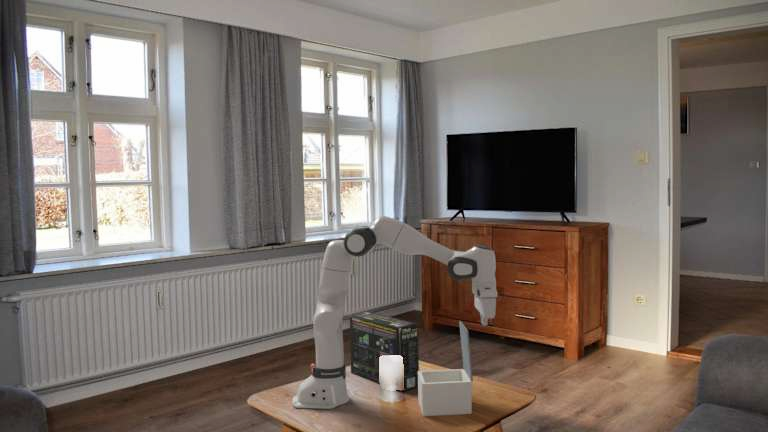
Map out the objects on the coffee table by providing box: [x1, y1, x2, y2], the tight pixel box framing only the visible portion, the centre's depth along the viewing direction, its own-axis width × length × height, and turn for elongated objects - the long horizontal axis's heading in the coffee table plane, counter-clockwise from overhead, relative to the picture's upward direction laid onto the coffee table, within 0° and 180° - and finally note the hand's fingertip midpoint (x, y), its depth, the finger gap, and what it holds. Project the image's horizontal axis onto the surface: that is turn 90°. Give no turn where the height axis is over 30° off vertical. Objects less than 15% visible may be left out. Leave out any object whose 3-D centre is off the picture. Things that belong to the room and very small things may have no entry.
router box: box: [348, 311, 420, 391], centre depth 268 cm, size 36×11×27 cm, turn 39°
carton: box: [417, 368, 473, 417], centre depth 235 cm, size 18×15×12 cm
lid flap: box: [458, 320, 492, 383], centre depth 234 cm, size 19×16×9 cm
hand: (484, 324), depth 234 cm, fingers closed
